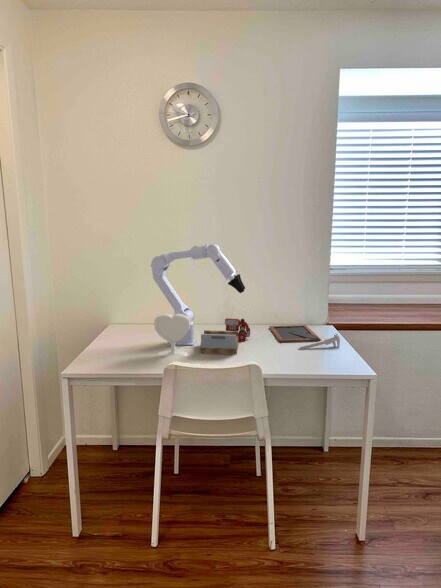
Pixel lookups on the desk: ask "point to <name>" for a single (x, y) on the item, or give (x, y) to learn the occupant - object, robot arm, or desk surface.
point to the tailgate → (218, 341)
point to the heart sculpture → (172, 330)
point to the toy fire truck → (234, 326)
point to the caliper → (323, 342)
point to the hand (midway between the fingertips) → (243, 290)
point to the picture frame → (294, 334)
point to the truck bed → (221, 350)
